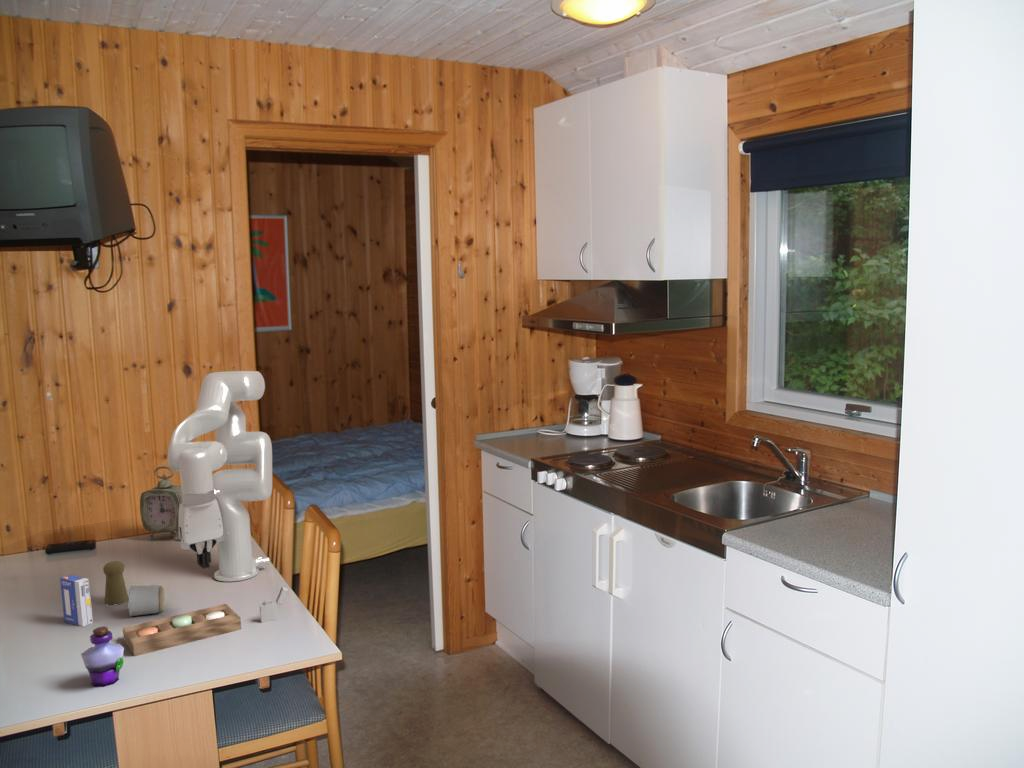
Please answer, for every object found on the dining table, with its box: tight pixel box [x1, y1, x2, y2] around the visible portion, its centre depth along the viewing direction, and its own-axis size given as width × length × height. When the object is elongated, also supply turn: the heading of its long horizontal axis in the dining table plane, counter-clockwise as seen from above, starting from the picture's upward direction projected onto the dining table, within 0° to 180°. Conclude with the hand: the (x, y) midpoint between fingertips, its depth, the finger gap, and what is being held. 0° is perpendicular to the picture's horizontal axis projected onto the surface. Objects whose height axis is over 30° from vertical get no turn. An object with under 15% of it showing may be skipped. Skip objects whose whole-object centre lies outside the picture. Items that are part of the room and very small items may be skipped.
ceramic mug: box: [127, 584, 165, 617], centre depth 233 cm, size 11×8×8 cm
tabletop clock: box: [139, 465, 183, 542], centre depth 300 cm, size 14×9×25 cm, turn 81°
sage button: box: [172, 615, 192, 628], centre depth 217 cm, size 4×4×2 cm
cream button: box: [206, 611, 224, 620], centre depth 222 cm, size 4×4×2 cm
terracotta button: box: [138, 627, 158, 637], centre depth 213 cm, size 4×4×2 cm
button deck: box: [122, 603, 242, 657], centre depth 217 cm, size 25×12×3 cm, turn 125°
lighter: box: [258, 586, 289, 624], centre depth 225 cm, size 7×2×8 cm, turn 115°
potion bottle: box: [80, 626, 125, 688], centre depth 192 cm, size 9×9×12 cm
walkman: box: [59, 574, 94, 627], centre depth 227 cm, size 8×3×12 cm, turn 60°
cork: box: [102, 560, 129, 606], centre depth 241 cm, size 6×6×11 cm
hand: (204, 566), depth 226 cm, fingers closed
